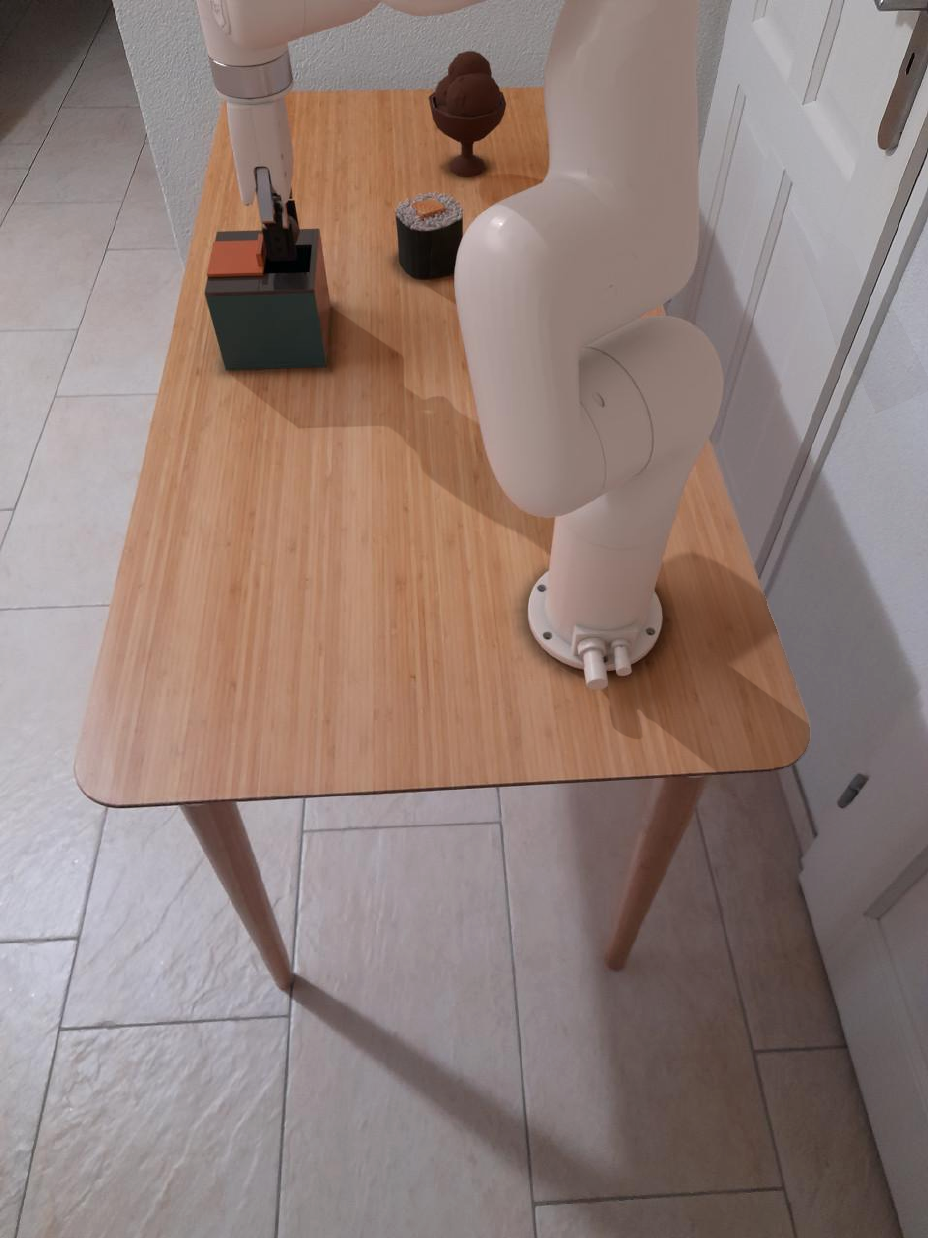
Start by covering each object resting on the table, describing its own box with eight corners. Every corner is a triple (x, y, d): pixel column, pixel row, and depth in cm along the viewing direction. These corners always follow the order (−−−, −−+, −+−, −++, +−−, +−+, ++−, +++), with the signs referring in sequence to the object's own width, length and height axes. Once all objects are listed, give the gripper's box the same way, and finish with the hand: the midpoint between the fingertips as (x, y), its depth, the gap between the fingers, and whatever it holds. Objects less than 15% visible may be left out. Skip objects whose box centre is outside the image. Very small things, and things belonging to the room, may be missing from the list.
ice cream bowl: (418, 158, 133) (413, 48, 121) (485, 142, 136) (487, 33, 123) (447, 192, 127) (445, 81, 115) (516, 175, 130) (521, 64, 118)
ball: (300, 257, 98) (294, 223, 94) (264, 258, 98) (257, 224, 94) (302, 237, 100) (296, 203, 97) (267, 238, 100) (260, 204, 97)
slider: (263, 275, 98) (259, 259, 96) (207, 277, 98) (203, 261, 96) (268, 242, 102) (264, 227, 100) (213, 244, 101) (210, 228, 100)
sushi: (473, 268, 117) (473, 210, 110) (416, 286, 114) (413, 228, 108) (444, 238, 121) (443, 180, 114) (389, 254, 118) (385, 197, 112)
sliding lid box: (326, 366, 105) (314, 289, 96) (225, 370, 105) (204, 292, 96) (330, 305, 112) (319, 228, 103) (236, 308, 112) (216, 231, 103)
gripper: (222, 32, 89) (257, 207, 104) (201, 113, 79) (243, 293, 94) (296, 31, 89) (321, 205, 104) (285, 111, 79) (314, 291, 94)
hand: (284, 245), depth 99 cm, fingers closed on ball, 3 cm apart
